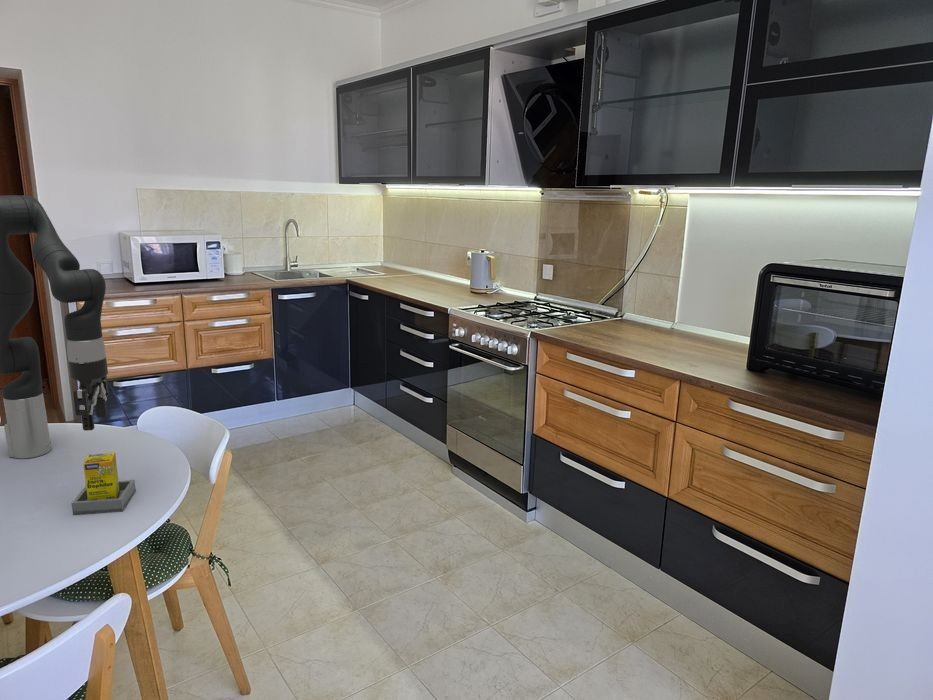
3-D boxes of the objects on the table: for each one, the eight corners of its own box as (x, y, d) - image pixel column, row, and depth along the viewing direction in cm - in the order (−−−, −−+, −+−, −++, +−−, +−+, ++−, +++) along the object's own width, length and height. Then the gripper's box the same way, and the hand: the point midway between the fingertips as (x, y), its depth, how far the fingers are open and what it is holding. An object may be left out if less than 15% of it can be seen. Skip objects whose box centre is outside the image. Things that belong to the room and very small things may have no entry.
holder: (73, 515, 148) (71, 503, 147) (89, 494, 158) (88, 482, 157) (122, 511, 150) (121, 499, 149) (135, 490, 160) (134, 479, 159)
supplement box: (88, 507, 150) (82, 464, 147) (92, 496, 155) (87, 454, 152) (117, 503, 152) (111, 461, 149) (120, 492, 157) (115, 451, 154)
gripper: (81, 349, 152) (89, 413, 156) (56, 365, 138) (65, 435, 142) (115, 348, 153) (122, 412, 157) (94, 364, 140) (102, 433, 144)
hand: (95, 423), depth 150 cm, fingers open, 8 cm apart
